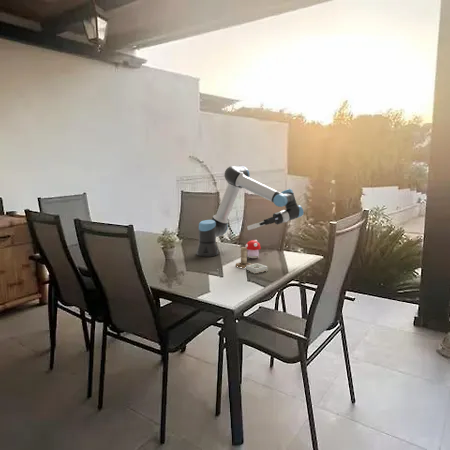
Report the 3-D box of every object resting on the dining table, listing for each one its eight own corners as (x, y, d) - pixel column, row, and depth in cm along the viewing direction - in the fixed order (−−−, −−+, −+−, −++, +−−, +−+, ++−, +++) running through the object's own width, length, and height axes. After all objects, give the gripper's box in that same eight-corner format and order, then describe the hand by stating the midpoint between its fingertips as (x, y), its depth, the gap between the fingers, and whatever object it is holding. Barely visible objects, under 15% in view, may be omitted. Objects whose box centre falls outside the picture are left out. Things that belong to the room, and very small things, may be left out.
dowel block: (235, 266, 240) (235, 263, 240) (244, 264, 245) (244, 261, 244) (243, 269, 235) (243, 265, 235) (251, 267, 239) (251, 263, 239)
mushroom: (252, 260, 255) (252, 242, 253) (241, 257, 264) (241, 239, 262) (264, 257, 262) (264, 240, 260) (252, 255, 270) (252, 237, 268)
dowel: (239, 266, 240) (239, 247, 238) (244, 265, 242) (244, 246, 240) (243, 267, 237) (243, 248, 235) (248, 267, 239) (248, 247, 238)
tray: (245, 270, 232) (245, 265, 231) (257, 268, 237) (257, 263, 237) (256, 273, 225) (256, 268, 224) (267, 271, 230) (267, 266, 230)
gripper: (290, 220, 238) (259, 231, 232) (274, 224, 262) (246, 234, 256) (286, 209, 238) (255, 219, 232) (271, 214, 262) (242, 223, 256)
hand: (250, 227), depth 244 cm, fingers open, 13 cm apart
